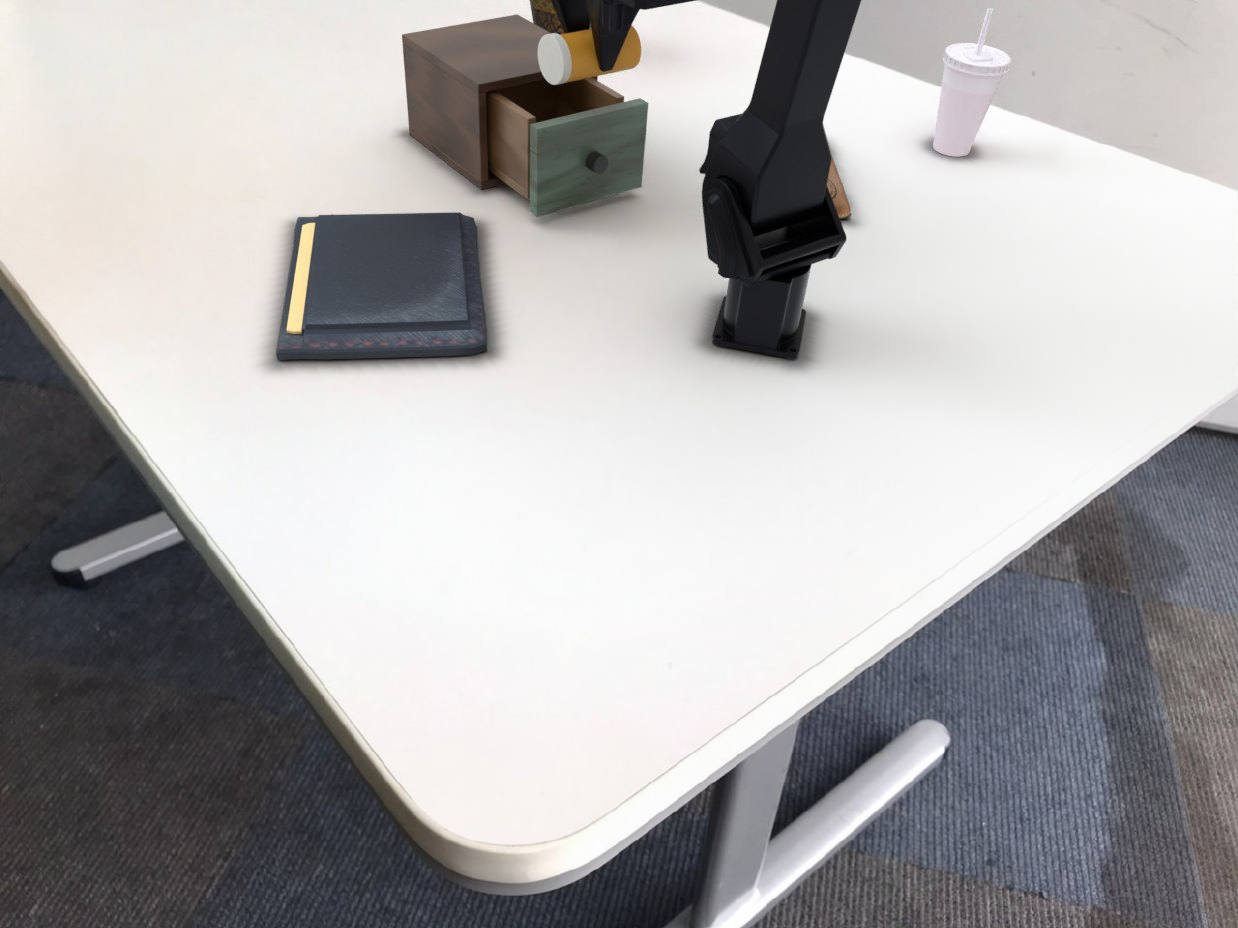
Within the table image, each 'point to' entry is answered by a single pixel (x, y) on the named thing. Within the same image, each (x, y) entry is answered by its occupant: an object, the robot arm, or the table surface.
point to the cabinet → (466, 85)
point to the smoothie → (967, 92)
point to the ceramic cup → (546, 16)
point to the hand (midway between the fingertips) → (592, 62)
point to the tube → (581, 56)
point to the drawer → (565, 142)
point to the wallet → (383, 288)
